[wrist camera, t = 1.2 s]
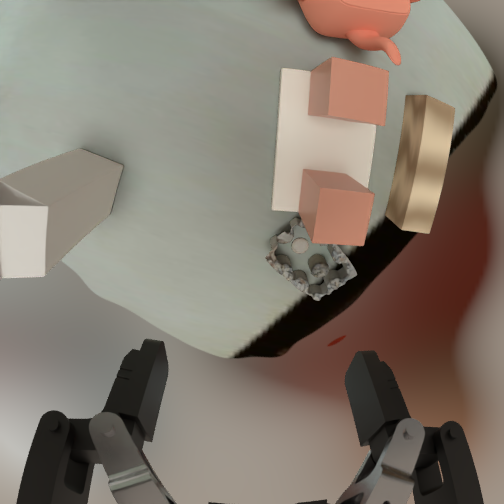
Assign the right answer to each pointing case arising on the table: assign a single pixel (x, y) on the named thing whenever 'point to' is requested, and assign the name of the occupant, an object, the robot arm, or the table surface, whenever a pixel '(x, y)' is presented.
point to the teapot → (360, 21)
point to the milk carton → (52, 209)
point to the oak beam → (420, 163)
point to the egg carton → (310, 264)
